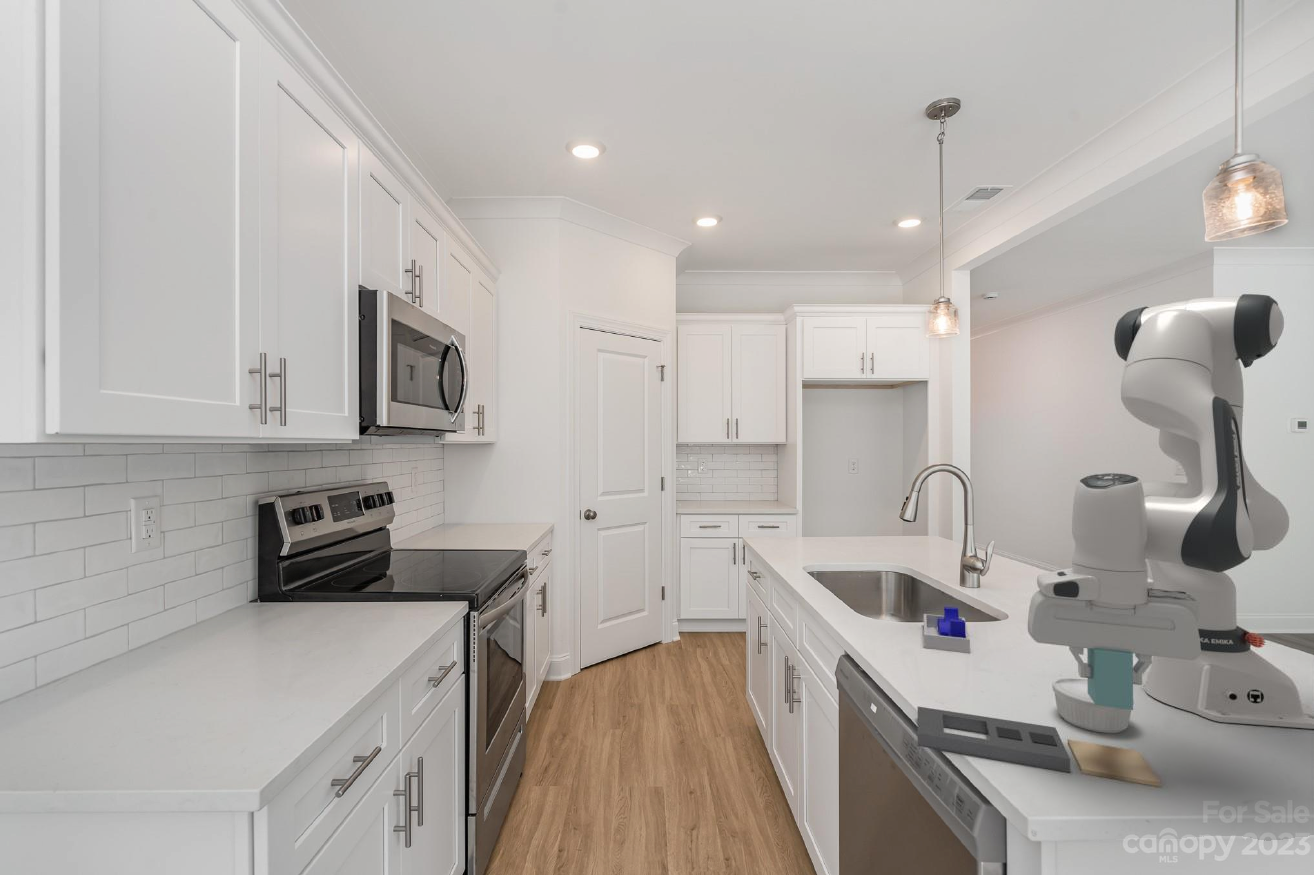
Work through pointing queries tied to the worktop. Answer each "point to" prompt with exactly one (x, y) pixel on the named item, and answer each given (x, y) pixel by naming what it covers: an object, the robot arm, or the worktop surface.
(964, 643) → the clip tray
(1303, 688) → the worktop surface
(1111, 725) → the ramekin
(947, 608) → the cable clip
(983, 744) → the grey slotted board
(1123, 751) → the pad
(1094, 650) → the upright teal block
